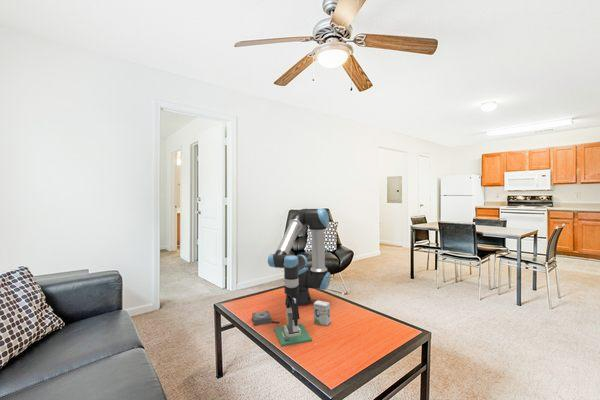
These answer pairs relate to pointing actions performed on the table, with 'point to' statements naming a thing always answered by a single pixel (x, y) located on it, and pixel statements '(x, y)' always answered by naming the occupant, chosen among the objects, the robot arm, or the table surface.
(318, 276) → the robot arm
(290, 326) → the plug
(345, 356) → the table surface
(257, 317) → the speaker
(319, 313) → the ink box
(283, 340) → the board
